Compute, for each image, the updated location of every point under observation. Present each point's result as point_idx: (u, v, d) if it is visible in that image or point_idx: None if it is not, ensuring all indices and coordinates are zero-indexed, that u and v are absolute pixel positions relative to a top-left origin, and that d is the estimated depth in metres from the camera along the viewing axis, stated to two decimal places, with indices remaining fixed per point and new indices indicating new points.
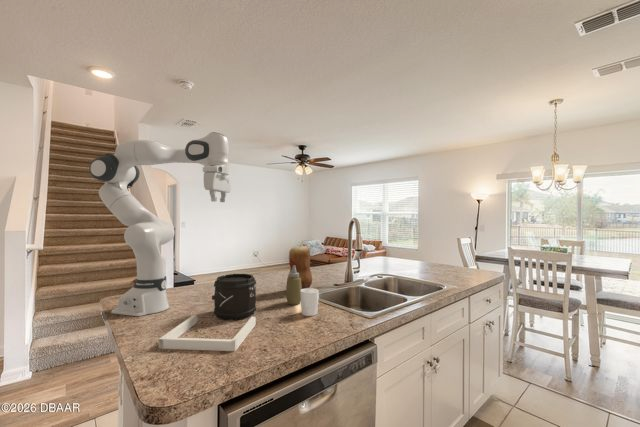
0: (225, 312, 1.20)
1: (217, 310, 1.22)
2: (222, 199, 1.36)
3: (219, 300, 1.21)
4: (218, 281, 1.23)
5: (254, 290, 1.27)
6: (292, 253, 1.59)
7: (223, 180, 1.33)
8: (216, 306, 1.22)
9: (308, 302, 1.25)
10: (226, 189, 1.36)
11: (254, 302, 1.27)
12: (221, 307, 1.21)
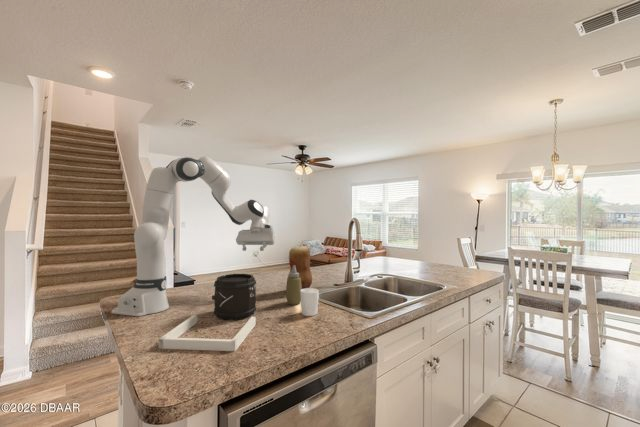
0: (225, 312, 1.20)
1: (217, 310, 1.22)
2: (246, 248, 1.55)
3: (219, 300, 1.21)
4: (218, 281, 1.23)
5: (254, 290, 1.27)
6: (292, 253, 1.59)
7: None
8: (216, 306, 1.22)
9: (308, 302, 1.25)
10: None
11: (254, 302, 1.27)
12: (221, 307, 1.21)
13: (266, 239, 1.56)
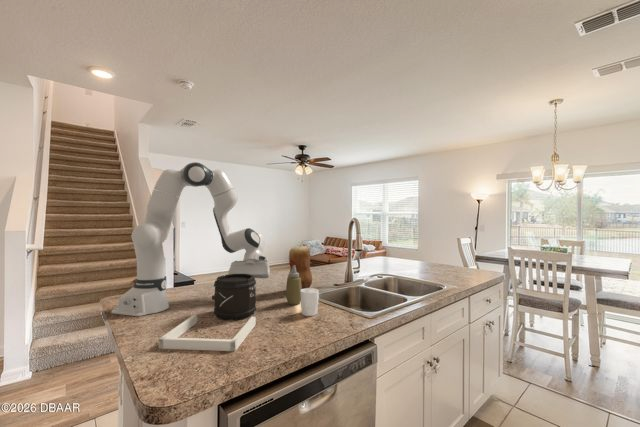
0: (225, 312, 1.20)
1: (217, 310, 1.22)
2: None
3: (219, 300, 1.21)
4: (218, 281, 1.23)
5: (254, 290, 1.27)
6: (292, 253, 1.59)
7: None
8: (216, 306, 1.22)
9: (308, 302, 1.25)
10: None
11: (254, 302, 1.27)
12: (221, 307, 1.21)
13: (260, 272, 1.46)
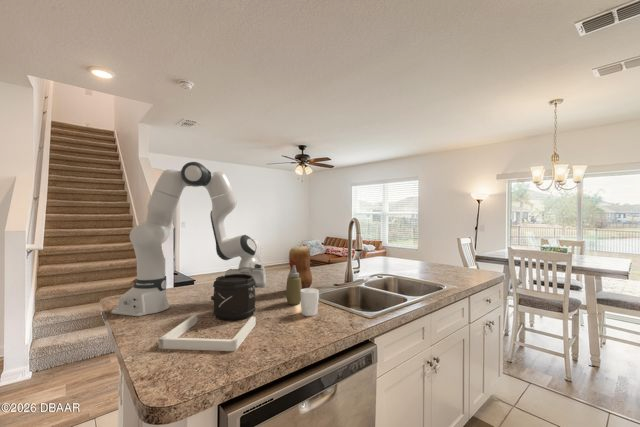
0: (224, 313, 1.19)
1: (216, 311, 1.22)
2: None
3: (218, 300, 1.20)
4: (217, 281, 1.22)
5: (253, 291, 1.26)
6: (292, 253, 1.59)
7: None
8: (215, 307, 1.22)
9: (308, 302, 1.25)
10: None
11: (253, 303, 1.26)
12: (220, 308, 1.20)
13: (256, 282, 1.39)
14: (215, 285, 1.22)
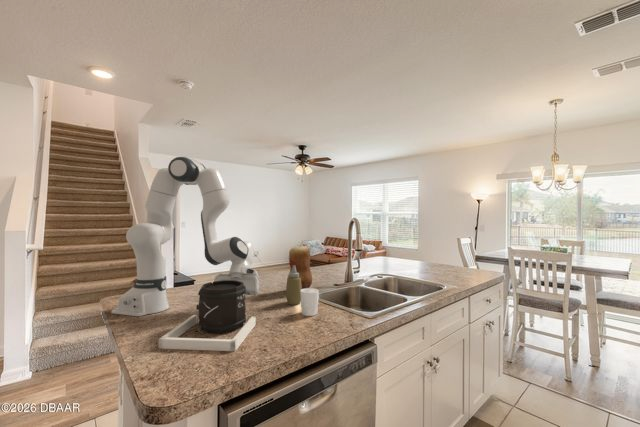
0: (210, 324, 1.07)
1: (201, 322, 1.10)
2: None
3: (203, 310, 1.08)
4: (203, 289, 1.10)
5: (243, 299, 1.14)
6: (292, 253, 1.59)
7: None
8: (200, 317, 1.10)
9: (308, 302, 1.25)
10: None
11: (243, 313, 1.14)
12: (205, 319, 1.08)
13: (248, 288, 1.26)
14: (200, 293, 1.10)
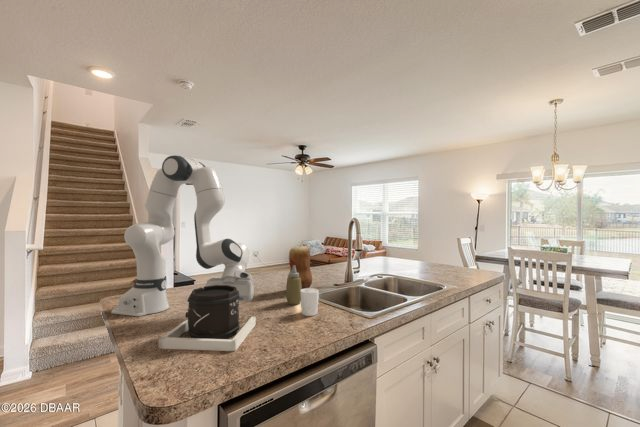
0: (200, 334, 0.99)
1: (191, 330, 1.01)
2: None
3: (193, 318, 1.00)
4: (192, 295, 1.02)
5: (236, 306, 1.06)
6: (292, 253, 1.59)
7: None
8: (190, 326, 1.02)
9: (308, 302, 1.25)
10: None
11: (236, 320, 1.06)
12: (195, 328, 1.00)
13: (242, 294, 1.18)
14: (190, 300, 1.01)
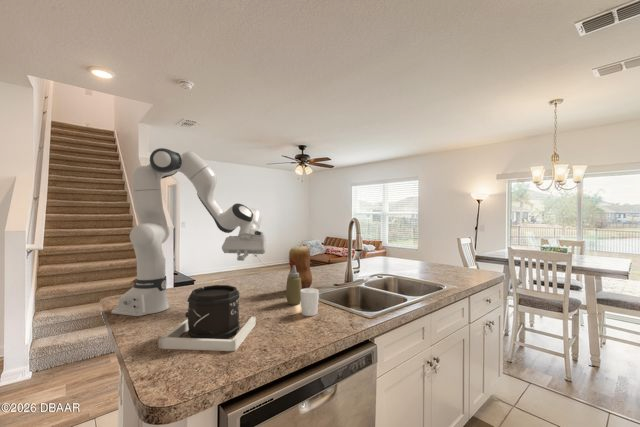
0: (200, 334, 0.99)
1: (191, 330, 1.01)
2: None
3: (193, 318, 1.00)
4: (192, 295, 1.02)
5: (236, 306, 1.06)
6: (292, 253, 1.59)
7: None
8: (190, 326, 1.02)
9: (308, 302, 1.25)
10: None
11: (236, 320, 1.06)
12: (195, 328, 1.00)
13: (256, 247, 1.38)
14: (190, 300, 1.01)
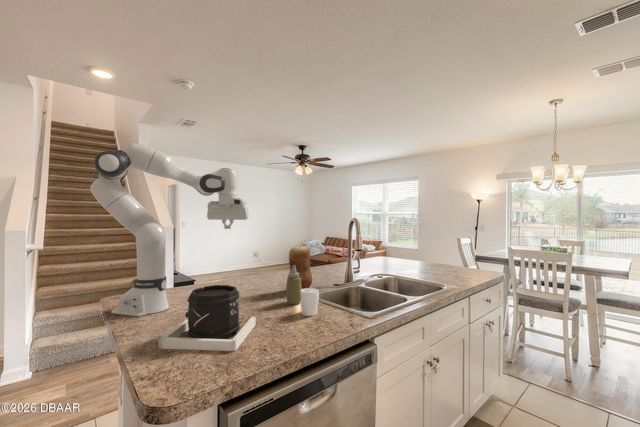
0: (200, 334, 0.99)
1: (191, 330, 1.01)
2: None
3: (193, 318, 1.00)
4: (192, 295, 1.02)
5: (236, 306, 1.06)
6: (292, 253, 1.59)
7: None
8: (190, 325, 1.02)
9: (308, 302, 1.25)
10: None
11: (236, 320, 1.06)
12: (195, 328, 1.00)
13: (239, 217, 1.47)
14: (190, 300, 1.01)
